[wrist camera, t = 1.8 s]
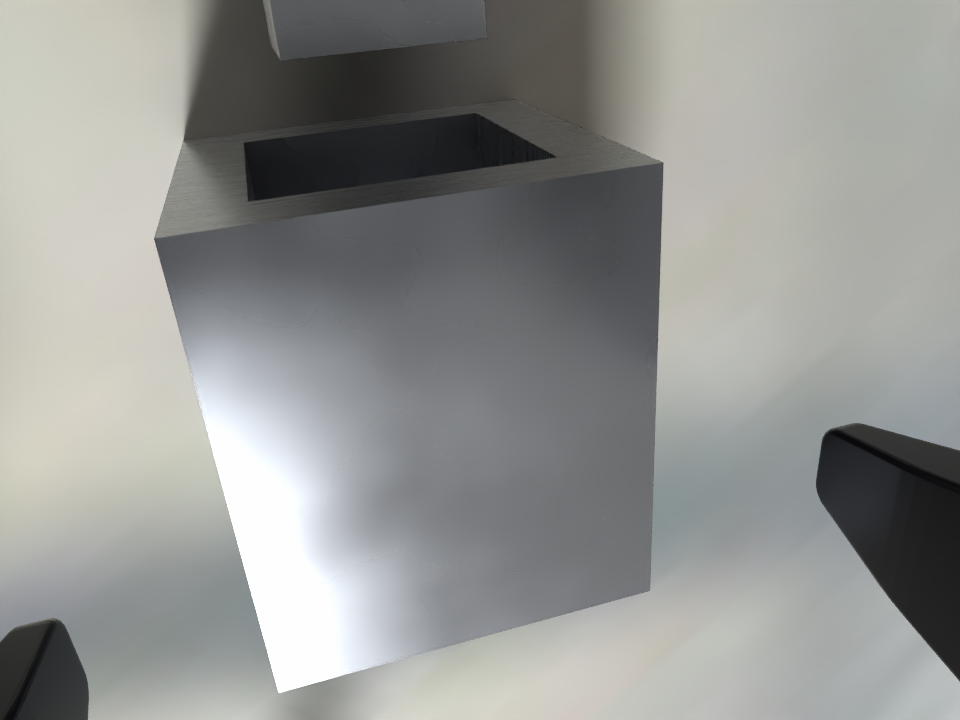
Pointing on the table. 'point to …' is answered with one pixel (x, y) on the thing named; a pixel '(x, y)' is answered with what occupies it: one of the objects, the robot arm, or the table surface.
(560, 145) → the socket
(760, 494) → the table surface
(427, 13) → the grey l-shaped piece
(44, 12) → the table surface
